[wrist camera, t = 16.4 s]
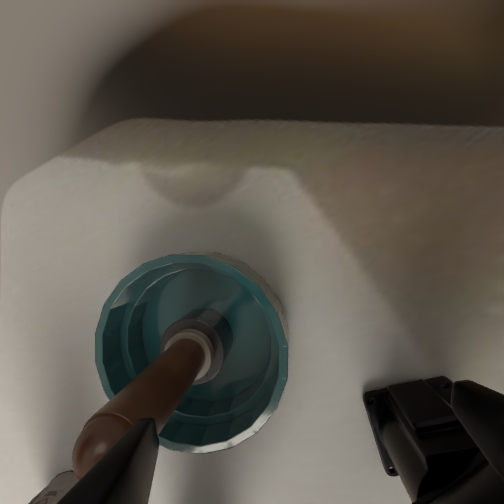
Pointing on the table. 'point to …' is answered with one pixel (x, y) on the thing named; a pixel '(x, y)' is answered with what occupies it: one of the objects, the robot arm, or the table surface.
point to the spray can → (56, 489)
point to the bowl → (235, 365)
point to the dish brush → (158, 384)
